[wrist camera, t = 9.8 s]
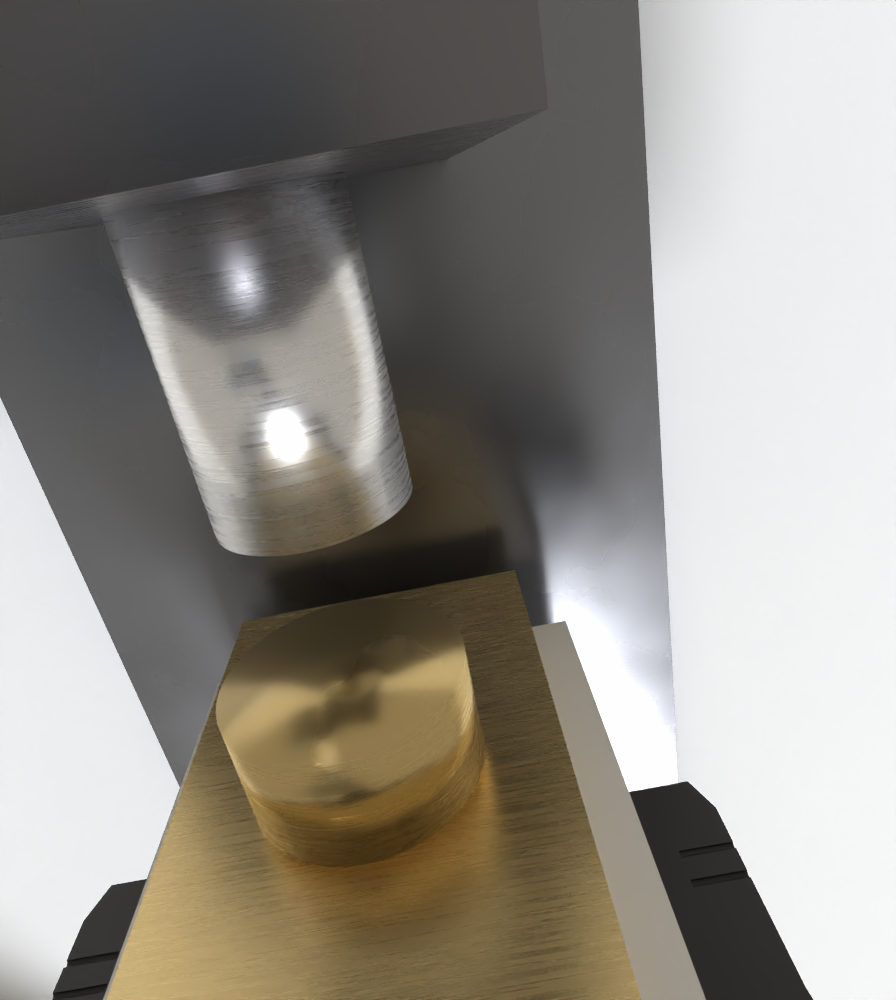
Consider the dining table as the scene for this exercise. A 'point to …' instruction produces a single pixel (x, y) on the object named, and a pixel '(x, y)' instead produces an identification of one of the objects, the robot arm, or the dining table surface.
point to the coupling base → (445, 291)
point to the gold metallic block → (381, 819)
